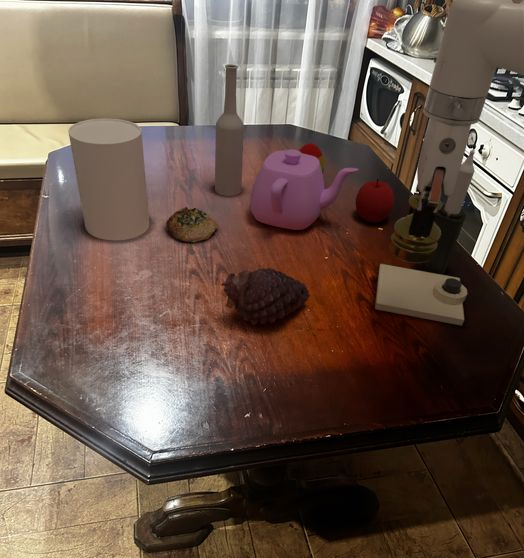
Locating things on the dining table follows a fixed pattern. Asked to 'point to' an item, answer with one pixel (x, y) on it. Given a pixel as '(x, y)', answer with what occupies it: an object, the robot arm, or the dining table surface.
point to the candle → (450, 220)
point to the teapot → (292, 190)
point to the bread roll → (191, 225)
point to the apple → (375, 201)
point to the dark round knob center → (452, 286)
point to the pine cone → (264, 294)
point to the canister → (110, 177)
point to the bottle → (229, 141)
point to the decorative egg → (313, 153)
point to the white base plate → (418, 295)
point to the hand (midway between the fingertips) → (418, 224)
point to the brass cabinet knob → (413, 238)
